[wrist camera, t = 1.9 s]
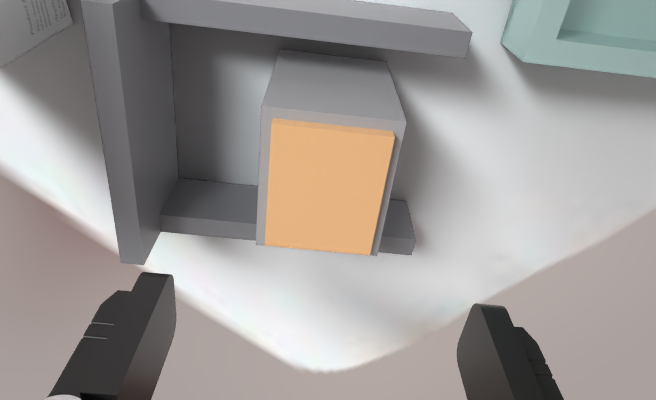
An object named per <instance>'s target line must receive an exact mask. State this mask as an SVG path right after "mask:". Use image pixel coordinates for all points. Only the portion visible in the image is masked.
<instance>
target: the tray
mask: <svg viewBox="0 0 656 400" xmlns="http://www.w3.org/2000/svg"><path fill="white" fill-rule="evenodd" d="M500 43H501V44H503V45H504V46H505V47H506V48H507V49H508V50H509V51H511V52H512V53H513V54H514V55H515V56H516V57H517V58H519V59H520V60H521V61H522V62H526V63H535V64H543V65H551V66H559V67H568V68H576V69H584V70H592V71H601V72H609V73H617V74H626V75H634V76H642V77H650V78H656V0H513V3H512V6H511V10H510V13H509V16H508V19H507V23H506V26H505V29H504V32H503V36H502V39H501V42H500Z"/></svg>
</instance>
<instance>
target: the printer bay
mask: <svg viewBox="0 0 656 400" xmlns="http://www.w3.org/2000/svg"><path fill="white" fill-rule="evenodd" d="M80 1H81V8H82V14H83V21H84V27H85V34H86V40H87V47H88V53H89V60H90V66H91V73H92V79H93V86H94V92H95V99H96V105H97V111H98V118H99V124H100V131H101V137H102V144H103V150H104V157H105V163H106V170H107V176H108V183H109V189H110V196H111V202H112V209H113V215H114V222H115V228H116V235H117V241H118V248H119V254H120V260H121V263H127V264H138V265H144V264H145V262H146V260H147V258H148V256H149V254H150V252H151V250H152V248H153V246H154V244H155V242H156V240H157V238H158V236H159V234H160V232H171V233H181V234H192V235H202V236H213V237H223V238H234V239H245V240H255V241H256V228H257V205H258V186H252V185H242V184H232V183H222V182H212V181H203V180H193V179H183V178H179V174H178V158H177V142H176V125H175V109H174V92H173V76H172V60H171V43H170V27H169V23H177V24H185V25H193V26H201V27H210V28H218V29H226V30H235V31H243V32H251V33H259V34H268V35H276V36H284V37H292V38H301V39H309V40H317V41H326V42H334V43H342V44H350V45H359V46H367V47H375V48H384V49H392V50H400V51H408V52H417V53H425V54H433V55H442V56H450V57H458V58H465V57H466V54H467V50H468V47H469V43H470V39H471V36H472V31H471V30H470V29H469V28H468V27H467V26H465V25H464V24H463V23H462V22H461V21H460V20H459V19H458V18H457V17H456V16H455V15H454V14H453V13H449V12H441V11H433V10H426V9H418V8H410V7H402V6H394V5H386V4H378V3H370V2H362V1H354V0H80ZM415 241H416V239H415V235H414V230H413V226H412V222H411V218H410V214H409V210H408V206H407V202H406V201H399V200H389V204H388V209H387V213H386V218H385V222H384V227H383V231H382V236H381V240H380V245H379V249H378V252H382V253H392V254H403V255H412V252H413V248H414V244H415Z"/></svg>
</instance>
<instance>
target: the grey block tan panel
mask: <svg viewBox="0 0 656 400" xmlns="http://www.w3.org/2000/svg"><path fill="white" fill-rule="evenodd" d="M406 123H407V121H406V118H405V115H404V112H403V109H402V107H401V104H400V101H399V98H398V95H397V92H396V89H395V86H394V83H393V80H392V77H391V74H390V71H389V68H388V65H387V62H383V61H375V60H366V59H358V58H349V57H341V56H333V55H324V54H316V53H307V52H299V51H290V50H282V49H280V50H279V53H278V57H277V60H276V63H275V66H274V69H273V72H272V75H271V79H270V82H269V85H268V88H267V91H266V94H265V97H264V100H263V104H262V112H261V135H260V158H259V182H258V205H257V228H256V245H265V246H275V247H286V248H297V249H308V250H319V251H330V252H340V253H351V254H362V255H373V256H377V254H378V249H379V245H380V240H381V236H382V231H383V227H384V222H385V218H386V213H387V209H388V204H389V200H390V195H391V190H392V186H393V181H394V177H395V172H396V168H397V163H398V159H399V154H400V150H401V145H402V141H403V136H404V132H405V127H406Z"/></svg>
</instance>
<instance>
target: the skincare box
mask: <svg viewBox="0 0 656 400" xmlns="http://www.w3.org/2000/svg"><path fill="white" fill-rule="evenodd" d="M72 24H73V21H72V18H71V14H70V11H69V8H68V5H67V2H66V0H0V69H1V68H3V67H4V66H6V65H7V64H9V63H11V62H12V61H14V60H15V59H17V58H18V57H20V56H22V55H23V54H25V53H26V52H28V51H30V50H31V49H33V48H34V47H36V46H37V45H39V44H41V43H42V42H44V41H46V40H47V39H49V38H50V37H52V36H54V35H55V34H57V33H58V32H60V31H62V30H63V29H65V28H67V27H68V26H70V25H72Z"/></svg>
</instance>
